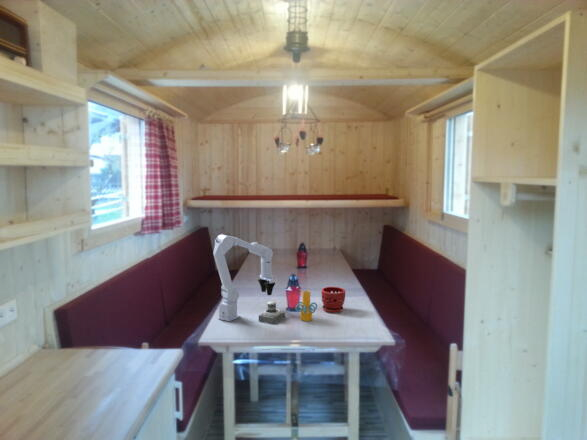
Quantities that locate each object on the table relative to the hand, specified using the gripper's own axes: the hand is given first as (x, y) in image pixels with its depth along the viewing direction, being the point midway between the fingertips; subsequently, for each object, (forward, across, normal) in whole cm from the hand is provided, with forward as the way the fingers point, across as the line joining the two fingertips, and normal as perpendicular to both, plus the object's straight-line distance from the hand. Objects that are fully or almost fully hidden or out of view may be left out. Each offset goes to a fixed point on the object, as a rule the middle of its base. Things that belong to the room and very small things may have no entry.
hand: (266, 293), depth 240 cm
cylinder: (+10, -23, -12) cm, 28 cm away
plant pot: (+10, -17, -33) cm, 38 cm away
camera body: (+10, -14, +4) cm, 18 cm away
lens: (+7, -14, +4) cm, 16 cm away
